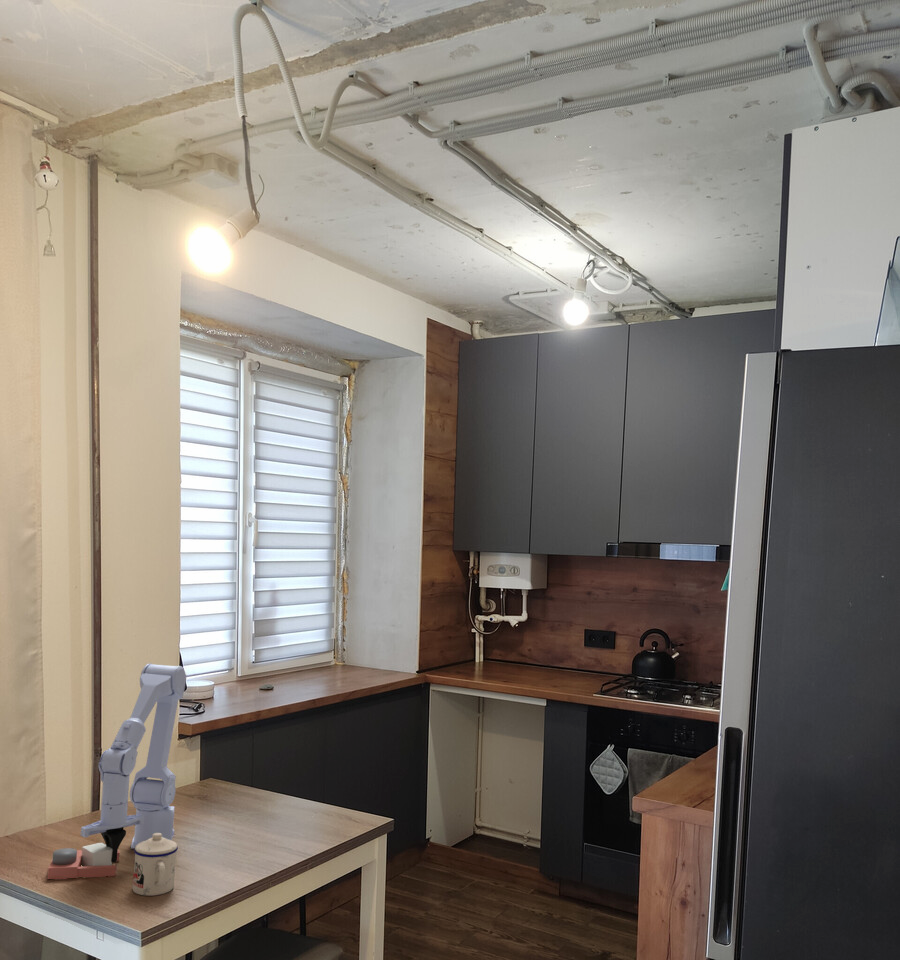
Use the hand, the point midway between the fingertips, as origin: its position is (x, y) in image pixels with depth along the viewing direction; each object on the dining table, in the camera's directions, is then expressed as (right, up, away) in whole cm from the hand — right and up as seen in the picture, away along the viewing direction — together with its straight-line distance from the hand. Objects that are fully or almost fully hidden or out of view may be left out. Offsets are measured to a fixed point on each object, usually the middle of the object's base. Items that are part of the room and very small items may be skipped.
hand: (110, 862), depth 200 cm
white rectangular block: (-3, -1, -1) cm, 3 cm away
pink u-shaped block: (-5, -1, -2) cm, 6 cm away
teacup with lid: (+14, -1, -12) cm, 18 cm away
